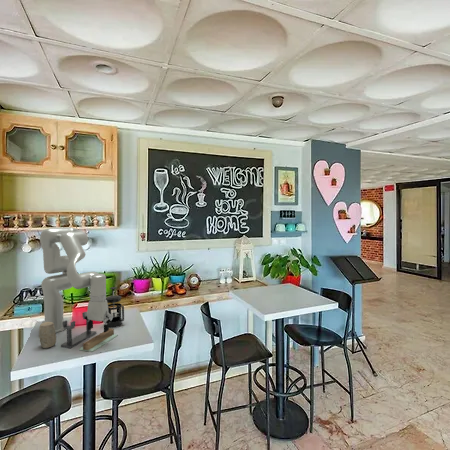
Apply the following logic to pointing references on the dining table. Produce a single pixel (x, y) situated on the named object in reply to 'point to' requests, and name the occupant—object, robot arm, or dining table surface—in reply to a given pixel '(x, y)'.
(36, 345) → the dining table surface
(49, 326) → the carving
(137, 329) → the dining table surface
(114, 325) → the french press
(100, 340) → the bar
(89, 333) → the rail stand
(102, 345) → the mat
